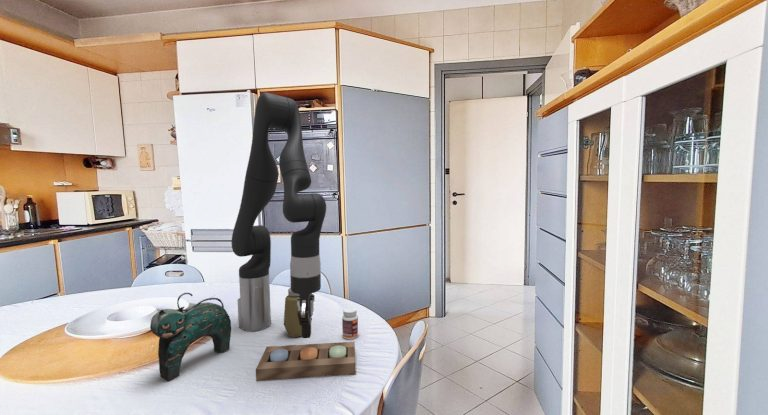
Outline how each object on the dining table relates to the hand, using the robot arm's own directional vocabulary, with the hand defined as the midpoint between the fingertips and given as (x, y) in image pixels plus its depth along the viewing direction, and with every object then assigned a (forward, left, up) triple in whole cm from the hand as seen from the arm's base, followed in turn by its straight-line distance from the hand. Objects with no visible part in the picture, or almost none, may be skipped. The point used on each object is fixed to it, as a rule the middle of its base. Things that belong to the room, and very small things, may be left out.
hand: (306, 336), depth 89 cm
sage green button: (+8, +3, -7) cm, 11 cm away
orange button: (0, 0, -7) cm, 7 cm away
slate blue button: (-7, -2, -7) cm, 10 cm away
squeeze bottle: (-12, +16, -8) cm, 21 cm away
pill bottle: (+5, +18, -8) cm, 21 cm away
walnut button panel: (0, 0, -8) cm, 8 cm away
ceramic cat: (-30, -6, -8) cm, 31 cm away
